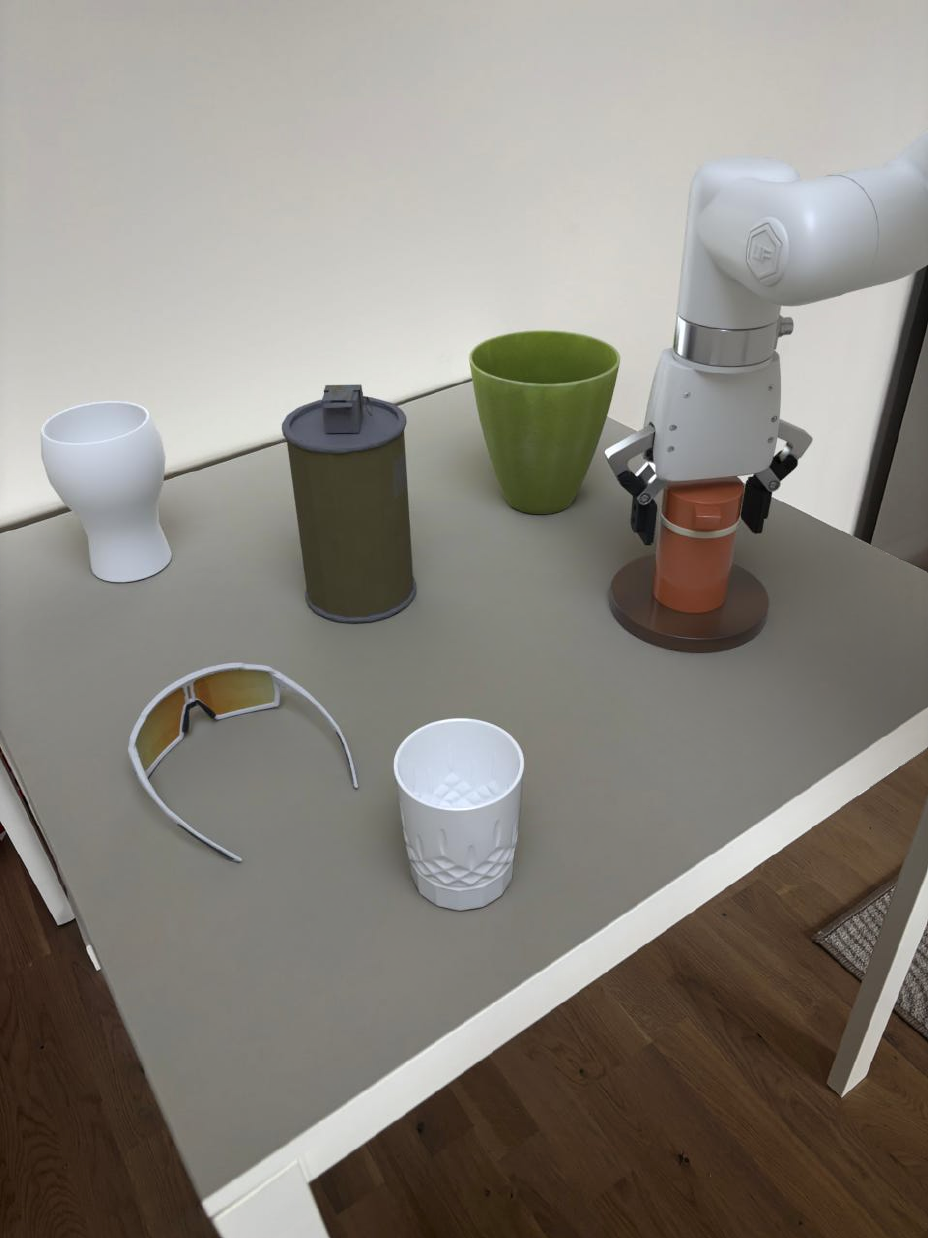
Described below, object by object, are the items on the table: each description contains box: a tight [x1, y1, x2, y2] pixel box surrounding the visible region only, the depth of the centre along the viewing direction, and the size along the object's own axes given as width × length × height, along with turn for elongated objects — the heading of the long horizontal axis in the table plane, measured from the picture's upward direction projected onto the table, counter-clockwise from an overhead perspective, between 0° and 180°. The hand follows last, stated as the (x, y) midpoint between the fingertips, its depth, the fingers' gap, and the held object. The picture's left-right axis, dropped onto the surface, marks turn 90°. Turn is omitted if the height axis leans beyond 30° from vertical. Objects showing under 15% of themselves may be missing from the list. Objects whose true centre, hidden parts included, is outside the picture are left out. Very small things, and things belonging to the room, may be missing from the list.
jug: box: [652, 476, 745, 613], centre depth 84 cm, size 10×7×11 cm, turn 174°
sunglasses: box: [127, 662, 359, 863], centre depth 71 cm, size 14×15×5 cm
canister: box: [281, 384, 417, 624], centre depth 86 cm, size 11×10×20 cm
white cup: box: [393, 717, 525, 912], centre depth 61 cm, size 8×8×10 cm
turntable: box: [609, 553, 770, 654], centre depth 88 cm, size 14×14×2 cm
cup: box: [40, 400, 173, 583], centre depth 92 cm, size 11×11×15 cm
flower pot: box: [468, 329, 621, 515], centre depth 101 cm, size 15×15×16 cm
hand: (697, 531), depth 84 cm, fingers open, 9 cm apart
